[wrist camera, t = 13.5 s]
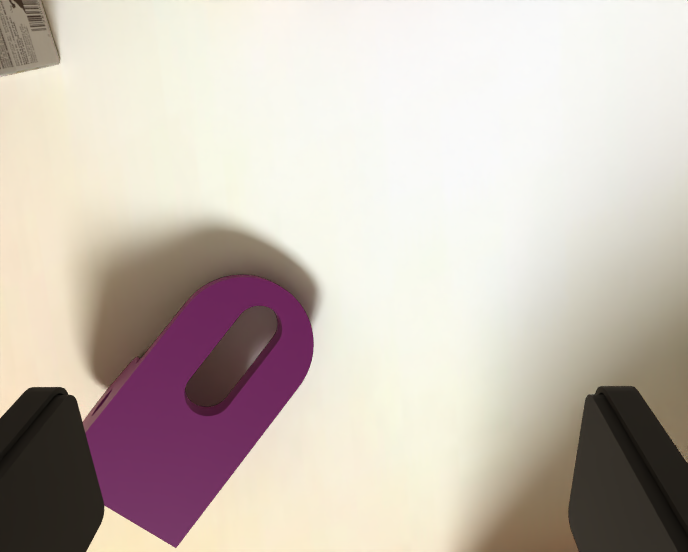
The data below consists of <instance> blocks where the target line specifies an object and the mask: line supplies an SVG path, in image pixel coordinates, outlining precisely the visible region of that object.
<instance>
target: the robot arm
mask: <svg viewBox="0 0 688 552" xmlns="http://www.w3.org/2000/svg"><path fill="white" fill-rule="evenodd" d="M568 513H569V523H570V527H571V531H572V534H573V536H574V539H575V542H576V544H577V547H578V550H579V552H688V463H687V462H686V461H685V459H684V458H683V456H682V455H681V453H680V452H679V450H678V449H677V447H676V446H675V445H674V443H673V442H672V440H671V439H670V437H669V436H668V434H667V433H666V431H665V430H664V428H663V427H662V425H661V424H660V423H659V421H658V420H657V418H656V417H655V415H654V414H653V412H652V411H651V409H650V408H649V406H648V405H647V403H646V402H645V400H644V399H643V398H642V396H641V395H640V393H639V392H638V390H637V389H636V388H635V387H632V386H600V387H598V389H597V390H596V393H595V395H587V397H586V400H585V405H584V411H583V418H582V424H581V431H580V437H579V444H578V450H577V456H576V463H575V469H574V476H573V482H572V489H571V495H570V502H569V510H568ZM103 516H104V501H103V497H102V493H101V490H100V486H99V482H98V478H97V475H96V471H95V467H94V463H93V460H92V456H91V452H90V449H89V445H88V441H87V437H86V434H85V430H84V426H83V422H82V419H81V415H80V411H79V407H78V404H77V401H76V398H75V397H74V396H72V395H68V393H67V391H66V390H65V389H64V388H62V387H32V388H29V389H28V390H26V391H25V392H24V393H23V394H22V395H21V396H20V397H19V399H18V400H17V401H16V402H15V403H14V404H13V405H12V406H11V407H10V408H9V409H8V411H7V412H6V413H5V414H4V415H3V416H2V417H1V418H0V552H86V551H87V549H88V547H89V545H90V543H91V541H92V540H93V538H94V536H95V534H96V532H97V530H98V528H99V526H100V525H101V522H102V519H103Z"/></svg>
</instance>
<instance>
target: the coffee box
mask: <svg viewBox="0 0 688 552" xmlns="http://www.w3.org/2000/svg"><path fill="white" fill-rule="evenodd" d="M59 63H60V59H59V56H58V53H57V50H56V46H55V43H54V40H53V37H52V33H51V30H50V27H49V24H48V21H47V17H46V14H45V11H44V8H43V5H42V1H41V0H0V77H2V76H7V75H12V74H16V73H21V72H26V71H30V70H35V69H40V68H44V67H49V66H53V65H57V64H59Z"/></svg>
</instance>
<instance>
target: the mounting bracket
mask: <svg viewBox="0 0 688 552" xmlns="http://www.w3.org/2000/svg"><path fill="white" fill-rule="evenodd" d="M253 306H266V307H269V308H271V309H272V310H273V311H274V312H275V314H276V317H277V321H278V325H277V330H276V333H275V335H274V336H273V338H272V339H271V340H270V342H269V343H268V344H267V346H266V347H265V348H264V349H263V351H262V352H261V353H260V355H259V356H258V357H257V358H256V360H255V361H254V362H253V364H252V365H251V366H250V367H249V369H248V370H247V371H246V373H245V374H244V375H243V376H242V378H241V379H240V380H239V382H238V383H237V384H236V386H235V387H234V388H233V389H232V391H231V392H230V393H229V395H228V396H227V397H226V398H225V399H224V400H223V401H222V402H221V403H219V404H217V405H215V406H212V407H201V406H198V405H196V404H194V403H193V402H191V401H190V400H189V398H188V397H187V395H186V393H185V387H186V384H187V382H188V381H189V379H190V378H191V377H192V375H193V374H194V373H195V372H196V370H197V369H198V368H199V367H200V365H201V364H202V363H203V361H204V360H205V359H206V358H207V356H208V355H209V354H210V353H211V351H212V350H213V349H214V347H215V346H216V345H217V344H218V342H219V341H220V340H221V338H222V337H223V336H224V335H225V333H226V332H227V331H228V330H229V328H230V327H231V326H232V324H233V323H234V322H235V321H236V319H237V318H238V317H239V316H240V314H241V313H242V312H243V311H245V310H246V309H248V308H250V307H253ZM313 347H314V342H313V332H312V328H311V324H310V321H309V318H308V316H307V314H306V312H305V310H304V309H303V307H302V306H301V304H300V303H299V302H298V301H297V299H296V298H295V297H294V296H293V295H292V294H290V293H289V292H288V291H287V290H285V289H284V288H282V287H281V286H279V285H277V284H276V283H274V282H272V281H270V280H267V279H264V278H262V277H258V276H253V275H231V276H226V277H222V278H219V279H216V280H214V281H212V282H210V283H208V284H206V285H205V286H203V287H202V288H200V289H199V290H197V291H196V292H195V293H194V294H193V295H192V296H191V297H190V298H189V299H188V300H187V302H186V303H185V304H184V305H183V307H182V308H181V309H180V310H179V312H178V313H177V314H176V315H175V317H174V318H173V319H172V320H171V322H170V323H169V324H168V325H167V327H166V328H165V329H164V330H163V332H162V333H161V334H160V335H159V337H158V338H157V339H156V340H155V342H154V343H153V344H152V345H151V347H150V348H149V349H148V350H147V352H146V353H145V354H144V355H143V357H142V358H141V359H140V358H139V357H136V358H134V359H133V360H132V361H131V362H130V363H129V365H128V366H127V367H126V368H125V369H124V370H123V372H122V373H121V374H120V375H119V376H118V377H117V378H116V380H115V381H114V382H113V383H112V384H111V385H110V387H109V388H108V389H107V390H106V392H105V393H104V394H103V396H102V397H101V398H100V399H99V401H98V402H97V403H96V405H95V406H94V407H93V409H92V410H91V411H90V413H89V414H88V415H87V417H86V418H85V420H84V421H83V426H84V430H85V434H86V437H87V441H88V445H89V449H90V452H91V456H92V460H93V463H94V467H95V471H96V475H97V478H98V482H99V486H100V490H101V493H102V497H103V501H104V505H105V506H106V507H108V508H110V509H111V510H113V511H115V512H116V513H118V514H120V515H121V516H123V517H125V518H126V519H128V520H130V521H131V522H133V523H135V524H137V525H138V526H140V527H142V528H143V529H145V530H147V531H148V532H150V533H152V534H153V535H155V536H157V537H158V538H160V539H162V540H163V541H165V542H167V543H168V544H170V545H172V546H173V547H175V548H176V547H177V546H178V545H179V543H180V542H181V541H182V540H183V538H184V537H185V536H186V534H187V533H188V532H189V530H190V529H191V528H192V526H193V525H194V524H195V523H196V521H197V520H198V519H199V517H200V516H201V515H202V513H203V512H204V511H205V509H206V508H207V507H208V505H209V504H210V503H211V502H212V500H213V499H214V498H215V496H216V495H217V494H218V492H219V491H220V490H221V488H222V487H223V486H224V484H225V483H226V482H227V481H228V479H229V478H230V477H231V475H232V474H233V473H234V471H235V470H236V469H237V467H238V466H239V465H240V463H241V462H242V461H243V460H244V458H245V457H246V456H247V454H248V453H249V452H250V450H251V449H252V448H253V446H254V445H255V444H256V442H257V441H258V440H259V439H260V437H261V436H262V435H263V433H264V432H265V431H266V429H267V428H268V427H269V425H270V424H271V423H272V422H273V420H274V419H275V418H276V416H277V415H278V414H279V412H280V411H281V410H282V408H283V407H284V406H285V404H286V403H287V402H288V401H289V399H290V398H291V397H292V395H293V394H294V393H295V391H296V390H297V389H298V387H299V386H300V385H301V383H302V382H303V380H304V378H305V376H306V374H307V372H308V370H309V367H310V364H311V361H312V356H313Z"/></svg>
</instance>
